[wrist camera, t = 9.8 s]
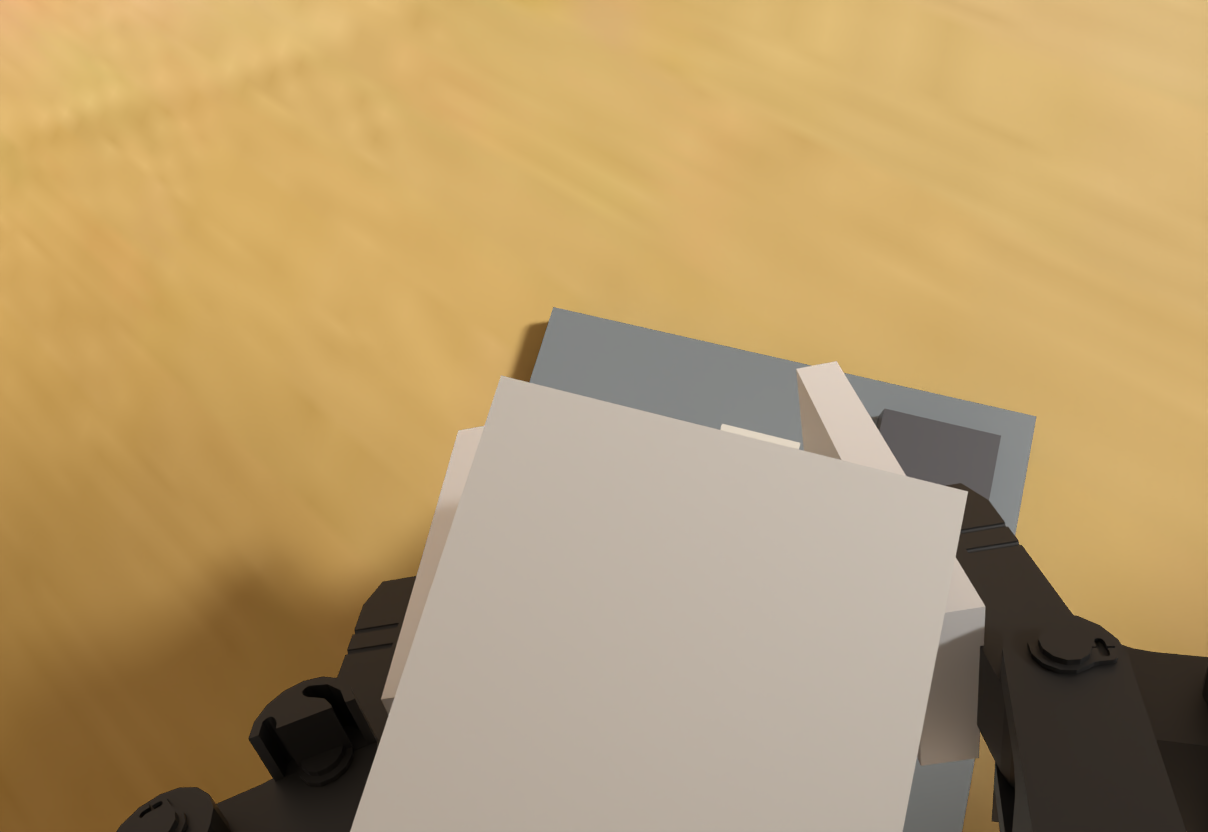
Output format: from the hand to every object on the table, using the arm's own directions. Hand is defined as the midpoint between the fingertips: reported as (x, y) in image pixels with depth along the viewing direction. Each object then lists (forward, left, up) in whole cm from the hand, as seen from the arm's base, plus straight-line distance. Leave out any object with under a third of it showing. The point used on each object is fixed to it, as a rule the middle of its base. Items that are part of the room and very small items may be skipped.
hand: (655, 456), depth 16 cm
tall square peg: (+3, +2, -3) cm, 5 cm away
